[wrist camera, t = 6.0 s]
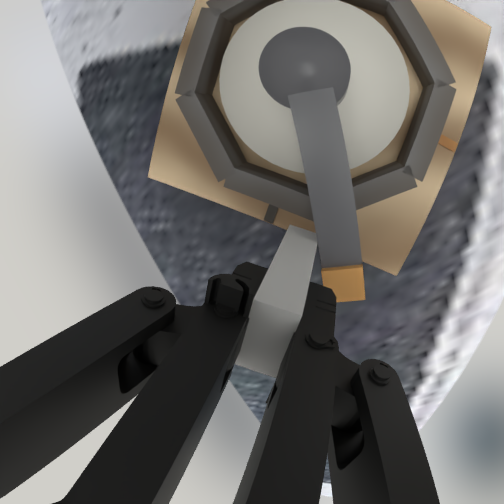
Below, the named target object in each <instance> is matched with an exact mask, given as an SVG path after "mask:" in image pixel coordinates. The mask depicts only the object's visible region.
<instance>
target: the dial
mask: <svg viewBox="0 0 504 504" xmlns="http://www.w3.org/2000/svg"><path fill="white" fill-rule="evenodd" d="M219 83H220V94H221V100H222V104H223V107H224V110H225V113H226V115H227V118H228V120H229V122H230V124H231V125H232V127H233V128H234V130H235V132H236V133H237V134H238V136H239V137H240V138H241V139H242V141H243V142H244V143H245V144H246V145H247V146H248V147H249V148H251V149H252V150H253V151H254V152H255V153H257V154H258V155H259V156H261V157H262V158H264V159H266V160H267V161H269V162H271V163H272V164H275V165H277V166H279V167H282V168H284V169H288V170H291V171H294V172H299V173H305V176H306V181H307V187H308V192H309V197H310V202H311V208H312V213H313V219H314V224H315V230H316V236H317V242H318V248H319V254H320V261H321V267H322V270H321V273H322V280H323V286H325V287H328V288H331V289H332V290H333V292H334V294H335V295H336V297H337V298H336V302H346V301H357V300H365V289H364V277H363V265H362V255H361V246H360V237H359V228H358V221H357V213H356V206H355V199H354V192H353V186H352V179H351V173H350V169H352V168H355V167H358V166H360V165H362V164H364V163H366V162H368V161H369V160H371V159H372V158H374V157H375V156H377V155H378V154H379V153H380V152H381V151H382V150H384V149H385V148H386V147H387V146H388V144H389V143H390V142H391V141H392V140H393V138H394V137H395V136H396V134H397V132H398V131H399V129H400V127H401V125H402V123H403V121H404V118H405V116H406V112H407V108H408V104H409V95H410V86H409V76H408V71H407V67H406V64H405V61H404V58H403V55H402V53H401V51H400V49H399V47H398V45H397V44H396V42H395V41H394V39H393V38H392V36H391V35H390V34H389V33H388V32H387V31H386V29H385V28H384V27H383V26H382V25H381V24H380V23H379V22H377V21H376V20H375V19H374V18H373V17H371V16H370V15H368V14H367V13H365V12H364V11H362V10H360V9H358V8H356V7H354V6H352V5H350V4H348V3H345V2H342V1H339V0H283V1H279V2H276V3H274V4H271V5H269V6H267V7H265V8H263V9H262V10H260V11H258V12H257V13H255V14H254V15H253V16H251V17H250V18H249V19H248V20H247V21H246V22H245V23H244V24H243V25H242V26H241V27H240V28H239V29H238V30H237V32H236V33H235V34H234V36H233V37H232V39H231V41H230V42H229V44H228V46H227V48H226V51H225V53H224V56H223V59H222V64H221V68H220V78H219Z"/></svg>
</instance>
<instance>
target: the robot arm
mask: <svg viewBox="0 0 504 504" xmlns="http://www.w3.org/2000/svg"><path fill="white" fill-rule="evenodd" d="M317 243H318V242H317V236H316V233H314V232H311V231H308V230H305V229H302V228H299V227H296V226H293V225H289V227H288V229H287V232H286V234H285V236H284V238H283V240H282V242H281V244H280V246H279V248H278V250H277V252H276V254H275V256H274V258H273V260H272V263H271V265H270V267H269V269H267V268H264V267H261V266H258V265H255V264H252V263H249V262H245V263H243V264H240V265H238V266H237V267H236V269H235V270H234V272H233V274H232V275H230V274H219V275H215V276H213V277H211V278H210V279H209V280H208V285H207V291H206V297H205V303H204V304H203V305H202V306H196V307H193V306H184V305H178V304H176V299H175V297H174V295H173V294H172V293H170V292H169V291H168V290H165V289H163V288H160V287H154V286H152V287H143V288H141V289H138V290H136V291H134V292H132V293H131V294H129V295H127V296H125V297H123V298H121V299H120V300H118V301H116V302H114V303H112V304H110V305H109V306H107V307H105V308H103V309H101V310H100V311H98V312H96V313H94V314H92V315H91V316H89V317H87V318H85V319H83V320H82V321H80V322H78V323H76V324H75V325H73V326H71V327H69V328H67V329H66V330H64V331H62V332H60V333H58V334H57V335H55V336H53V337H51V338H50V339H48V340H46V341H44V342H43V343H41V344H39V345H38V346H36V347H34V348H32V349H30V350H29V351H27V352H25V353H23V354H22V355H20V356H18V357H16V358H15V359H13V360H12V361H10V362H8V363H6V364H4V365H3V366H1V367H0V498H2V497H3V496H5V495H6V494H8V493H9V492H11V491H12V490H13V489H15V488H16V487H18V486H19V485H20V484H22V483H23V482H25V481H26V480H27V479H29V478H30V477H31V476H33V475H34V474H36V473H37V472H38V471H40V470H41V469H42V468H44V467H45V466H46V465H48V464H49V463H50V462H52V461H53V460H54V459H56V458H57V457H58V456H60V455H61V454H62V453H64V452H65V451H66V450H68V449H69V448H70V447H72V446H73V445H74V444H75V443H77V442H78V441H79V440H81V439H82V438H83V437H85V436H86V435H87V434H88V433H90V432H91V431H92V430H93V429H95V428H96V427H97V426H99V425H100V424H101V423H102V422H104V421H105V420H106V419H108V418H109V417H110V416H111V415H113V414H114V413H115V412H116V411H118V410H119V409H120V408H121V407H123V406H124V405H125V404H126V403H127V402H129V401H130V400H131V399H132V398H134V397H135V396H136V395H137V397H136V398H135V399H134V401H133V402H132V404H131V405H130V407H129V408H128V409H127V411H126V412H125V413H124V415H123V416H122V418H121V419H120V420H119V422H118V423H117V425H116V426H115V427H114V429H113V430H112V432H111V433H110V434H109V436H108V437H107V439H106V440H105V442H104V443H103V444H102V446H101V447H100V449H99V450H98V451H97V453H96V454H95V456H94V457H93V458H92V460H91V461H90V463H89V464H88V466H87V467H86V468H85V470H84V471H83V473H82V474H81V476H80V477H79V478H78V480H77V481H76V483H75V484H74V485H73V487H72V488H71V490H70V491H69V492H68V494H67V495H66V496H65V497H64V498H63V499H62V500H61V501H59V502H56V503H52V504H169V502H170V500H171V498H172V496H173V494H174V492H175V490H176V488H177V486H178V484H179V482H180V480H181V478H182V476H183V474H184V472H185V470H186V468H187V466H188V464H189V462H190V460H191V458H192V456H193V454H194V452H195V450H196V448H197V446H198V444H199V442H200V439H201V437H202V435H203V433H204V431H205V429H206V427H207V425H208V423H209V421H210V419H211V417H212V414H213V412H214V410H215V408H216V406H217V404H218V402H219V400H220V397H221V395H222V393H223V391H224V389H225V387H226V384H227V382H228V380H229V378H230V376H231V373H232V369H233V366H234V364H237V365H239V366H242V367H245V368H248V369H251V370H254V371H256V372H259V373H262V374H265V375H268V376H271V377H274V378H276V377H277V378H276V381H275V383H274V386H273V388H272V390H271V392H270V394H269V397H268V399H267V401H266V403H267V406H266V409H265V413H264V416H263V419H262V422H261V425H260V428H259V431H258V434H257V437H256V440H255V443H254V446H253V449H252V452H251V455H250V458H249V461H248V463H247V466H246V470H245V472H244V475H243V477H242V480H241V483H240V486H239V489H238V492H237V494H236V497H235V499H234V502H233V504H319V499H320V494H321V489H322V483H323V477H324V471H325V465H326V459H327V453H328V461H329V469H330V477H331V486H332V495H333V504H440V503H439V499H438V495H437V491H436V488H435V484H434V480H433V477H432V474H431V470H430V467H429V463H428V460H427V457H426V453H425V450H424V447H423V444H422V441H421V438H420V435H419V432H418V429H417V426H416V423H415V420H414V417H413V414H412V412H411V409H410V406H409V403H408V400H407V398H406V395H405V392H404V390H403V387H402V384H401V382H400V379H399V376H398V375H397V373H396V371H395V370H394V369H393V368H392V367H391V366H390V365H388V364H387V363H385V362H383V361H380V360H376V359H368V360H365V361H364V362H362V363H361V365H358V364H356V363H355V362H353V361H351V360H349V359H348V358H346V357H345V356H344V355H342V354H341V353H340V352H339V347H338V342H337V340H336V339H335V337H334V328H335V312H336V298H337V297H336V295H335V294H334V292H333V290H332V289H331V288H328V287H325V286H322V285H319V284H316V283H313V282H310V278H311V273H312V268H313V263H314V258H315V253H316V248H317ZM235 361H236V362H235Z"/></svg>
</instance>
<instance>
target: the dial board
mask: <svg viewBox="0 0 504 504" xmlns="http://www.w3.org/2000/svg"><path fill="white" fill-rule="evenodd" d="M279 1H283V0H196V1H195V4H194V7H193V10H192V12H191V15H190V18H189V21H188V24H187V27H186V30H185V33H184V36H183V39H182V42H181V45H180V48H179V51H178V55H177V58H176V61H175V65H174V68H173V72H172V75H171V79H170V82H169V86H168V90H167V94H166V97H165V101H164V105H163V109H162V113H161V117H160V122H159V126H158V130H157V135H156V139H155V144H154V149H153V153H152V158H151V163H150V169H149V174H148V177H149V178H152V179H154V180H157V181H160V182H163V183H165V184H168V185H171V186H174V187H176V188H179V189H182V190H184V191H187V192H190V193H192V194H195V195H198V196H200V197H203V198H206V199H208V200H211V201H214V202H216V203H219V204H222V205H224V206H227V207H229V208H232V209H235V210H237V211H240V212H242V213H245V214H248V215H250V216H253V217H255V218H258V219H260V220H263V221H265V222H268V223H270V224H273V225H275V226H278V227H281V228H283V229H286V230H287V229H288V227H289V225H293V226H296V227H299V228H302V229H305V230H308V231H311V232H314V233H316V230H315V224H314V219H313V213H312V208H311V202H310V197H309V192H308V187H307V181H306V176H305V173H299V172H294V171H291V170H288V169H284V168H282V167H279V166H277V165H275V164H272V163H271V162H269V161H267V160H266V159H264V158H262V157H261V156H259V155H258V154H257V153H255V152H254V151H253V150H252V149H251V148H249V147H248V146H247V145H246V144H245V143H244V142H243V141H242V139H241V138H240V137H239V136H238V134H237V133H236V132H235V130H234V128H233V127H232V125H231V124H230V122H229V120H228V118H227V115H226V113H225V110H224V107H223V104H222V100H221V94H220V83H219V78H220V68H221V64H222V59H223V56H224V53H225V51H226V48H227V46H228V44H229V42H230V41H231V39H232V37H233V36H234V34H235V33H236V32H237V30H238V29H239V28H240V27H241V26H242V25H243V24H244V23H245V22H246V21H247V20H248V19H249V18H250V17H251V16H253V15H254V14H255V13H257V12H258V11H260V10H262V9H263V8H265V7H267V6H269V5H271V4H274V3H276V2H279ZM339 1H342V2H345V3H348V4H350V5H352V6H354V7H356V8H358V9H360V10H362V11H364V12H365V13H367V14H368V15H370V16H371V17H373V18H374V19H375V20H376V21H377V22H379V23H380V24H381V25H382V26H383V27H384V28H385V29H386V31H387V32H388V33H389V34H390V35H391V36H392V38H393V39H394V41H395V42H396V44H397V45H398V47H399V49H400V51H401V53H402V55H403V58H404V61H405V64H406V67H407V71H408V76H409V86H410V95H409V104H408V108H407V112H406V116H405V118H404V121H403V123H402V125H401V127H400V129H399V131H398V132H397V134H396V136H395V137H394V138H393V140H392V141H391V142H390V143H389V144H388V146H387V147H386V148H385V149H384V150H382V151H381V152H380V153H379V154H378V155H377V156H375V157H374V158H372V159H371V160H369V161H368V162H366V163H364V164H362V165H360V166H358V167H355V168H352V169H350V173H351V179H352V186H353V192H354V199H355V206H356V213H357V221H358V228H359V237H360V246H361V255H362V261H363V262H365V263H368V264H370V265H372V266H375V267H377V268H379V269H382V270H384V271H386V272H389V273H391V274H393V275H395V276H397V274H398V272H399V270H400V269H401V267H402V265H403V263H404V261H405V259H406V258H407V256H408V254H409V252H410V250H411V248H412V246H413V244H414V242H415V240H416V238H417V236H418V234H419V232H420V230H421V228H422V226H423V224H424V222H425V220H426V218H427V216H428V214H429V212H430V210H431V208H432V205H433V203H434V201H435V199H436V197H437V194H438V192H439V190H440V188H441V185H442V183H443V181H444V178H445V176H446V173H447V171H448V169H449V166H450V164H451V161H452V159H453V156H454V153H455V151H456V148H457V146H458V143H459V140H460V137H461V135H462V132H463V129H464V126H465V123H466V120H467V117H468V114H469V111H470V108H471V105H472V102H473V99H474V95H475V92H476V89H477V85H478V82H479V78H480V74H481V71H482V67H483V63H484V59H485V55H486V50H487V46H488V41H489V36H490V32H491V27H490V26H489V25H487V24H486V23H484V22H483V21H481V20H479V19H478V18H476V17H475V16H473V15H471V14H469V13H468V12H466V11H464V10H463V9H461V8H459V7H457V6H455V5H453V4H452V3H450V2H448V1H446V0H339Z"/></svg>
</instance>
